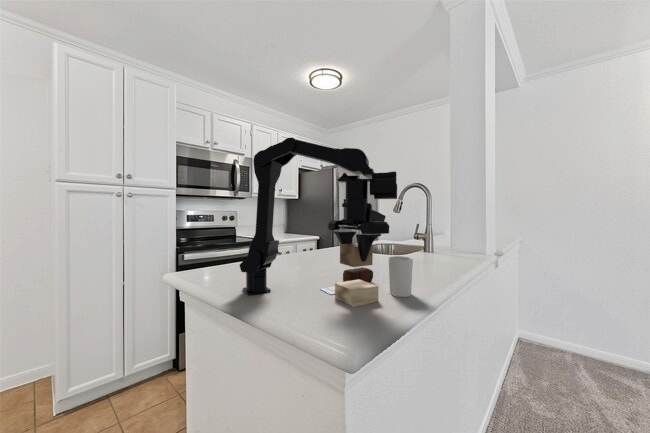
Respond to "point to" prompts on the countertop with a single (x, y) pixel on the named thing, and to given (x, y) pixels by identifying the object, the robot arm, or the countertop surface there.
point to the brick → (358, 274)
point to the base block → (356, 292)
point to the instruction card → (329, 290)
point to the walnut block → (354, 255)
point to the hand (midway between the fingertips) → (356, 259)
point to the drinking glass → (400, 275)
